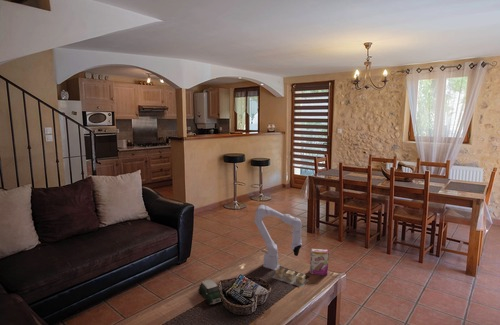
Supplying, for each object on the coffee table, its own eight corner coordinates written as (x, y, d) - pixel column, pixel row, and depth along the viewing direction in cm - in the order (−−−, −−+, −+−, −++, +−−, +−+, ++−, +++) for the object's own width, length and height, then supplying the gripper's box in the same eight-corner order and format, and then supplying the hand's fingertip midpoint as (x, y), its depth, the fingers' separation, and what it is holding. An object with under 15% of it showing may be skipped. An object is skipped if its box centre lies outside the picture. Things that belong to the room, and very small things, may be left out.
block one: (275, 276, 201) (275, 269, 201) (278, 273, 205) (278, 266, 204) (281, 278, 199) (282, 271, 198) (284, 275, 203) (285, 268, 202)
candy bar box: (310, 275, 205) (311, 251, 202) (309, 271, 210) (310, 248, 207) (327, 276, 204) (328, 252, 201) (326, 272, 209) (327, 249, 206)
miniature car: (210, 307, 169) (210, 294, 168) (197, 291, 184) (197, 279, 183) (225, 302, 174) (225, 289, 173) (211, 287, 189) (211, 275, 188)
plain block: (285, 279, 198) (285, 272, 197) (288, 276, 202) (288, 269, 201) (292, 281, 196) (292, 274, 195) (294, 278, 199) (295, 271, 199)
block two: (295, 282, 194) (296, 275, 194) (298, 279, 198) (298, 272, 197) (302, 284, 192) (302, 277, 191) (305, 281, 196) (305, 274, 195)
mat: (271, 278, 200) (271, 277, 200) (278, 271, 208) (278, 271, 208) (302, 288, 189) (302, 287, 189) (308, 280, 198) (308, 279, 198)
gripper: (298, 241, 202) (297, 261, 204) (306, 234, 214) (305, 252, 216) (288, 238, 205) (287, 258, 207) (296, 232, 218) (296, 250, 220)
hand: (296, 255), depth 212 cm, fingers closed
